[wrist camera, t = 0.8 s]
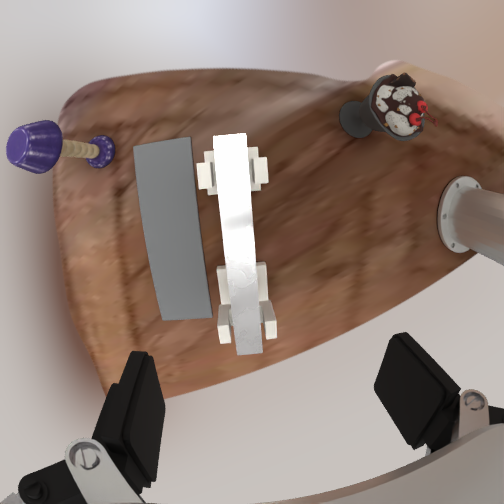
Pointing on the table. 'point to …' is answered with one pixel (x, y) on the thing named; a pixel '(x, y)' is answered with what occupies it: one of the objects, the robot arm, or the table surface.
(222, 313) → the rack
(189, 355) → the table surface
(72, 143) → the toy lamp
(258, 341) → the rail
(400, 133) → the sundae
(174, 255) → the mat
